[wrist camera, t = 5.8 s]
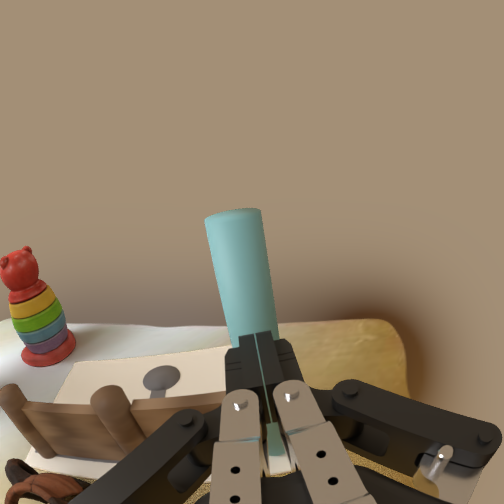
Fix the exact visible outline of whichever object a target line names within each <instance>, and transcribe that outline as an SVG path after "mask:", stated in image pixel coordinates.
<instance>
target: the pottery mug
mask: <svg viewBox="0 0 504 504" xmlns="http://www.w3.org/2000/svg"><path fill="white" fill-rule="evenodd" d="M5 471H6V475H7V478H8V479H9V481H10V482H11V484H12V487H11V488H10V489H9V490H8V492H7V494H6V498H5V504H18V501H19V499H20V498H28V499H34V500H36V501H40V502H43V503H45V504H48V503H49V504H68V503H69V502H68V501H66V500H63V499H65V498H66V497H68V496H71V495H77V494H80V493H81V492H82V491H83V490H85V489H86V488H88V487H89V486H90V485H91V484H90V483H87V482H84V481H82V480H80V479H76V478H74V477H70V476H67V475H63V474H54V473H41V474H38V473H37V472H36V471H35V470H34V469H33V468H32V467H31V466H29V465H28V464H27V463H25V462H24V461H22V460H20V459H15V458H13V459H10V460H8V461H7V465H6V466H5Z"/></svg>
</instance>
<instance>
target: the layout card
mask: <svg viewBox="0 0 504 504" xmlns="http://www.w3.org/2000/svg"><path fill="white" fill-rule="evenodd" d="M230 348H232V345H227V346H221V347H215V348H208V349H201V350H194V351H187V352H179V353H171V354H163V355H154V356H145V357H135V358H124V359H112V360H98V361H81V362H75V364H74V365H73V367H72V369H71V371H70V372H69V374H68V376H67V378H66V379H65V381H64V383H63V385H62V387H61V389H60V390H59V392H58V394H57V396H56V398H55V400H54V402H53V403H59V404H90V399H91V396H92V395H93V394H94V392H95V391H97V390H98V389H100V388H101V387H104V386H107V385H117V386H119V387H121V388H122V389H123V391H124V393H125V394H126V396H127V398H128V400H129V402H130V403H131V405H132V401H133V399H151V398H165V397H176V396H187V395H196V394H204V393H212V392H220V391H226V385H225V358H224V356H225V354H226V353H227V351H228V349H230ZM118 462H120V461H116V460H102V459H91V458H82V457H74V456H67V455H60V454H57V455H55V457H54V458H51V459H45V458H43V457H42V456H41V455H40V454H39V453H38V452H37V451H36V450H35V449H34V447H33V446H31V449H30V451H29V453H28V455H27V458H26V460H25V463H27V464H28V465H29V466H31V467H32V468H35V469H40V470H44V471H48V472H53V473H58V474H63V475H68V476H74V477H80V478H87V479H94V480H98V479H99V478H100V477H101V476H103V475H104V474H105V473H106V472H108V471H109V470H110V469H111V468H112V467H114V466H115V465H116V464H117V463H118ZM269 465H270V476H272V475H277V474H283V473H288V472H292V471H291V467H290V464H289V461H288V458H287V455H286V453H284V454H282V455H279V456H269ZM204 483H211V475H210V476H209V477H208V478H207V479H206V480H205V481H204Z"/></svg>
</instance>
